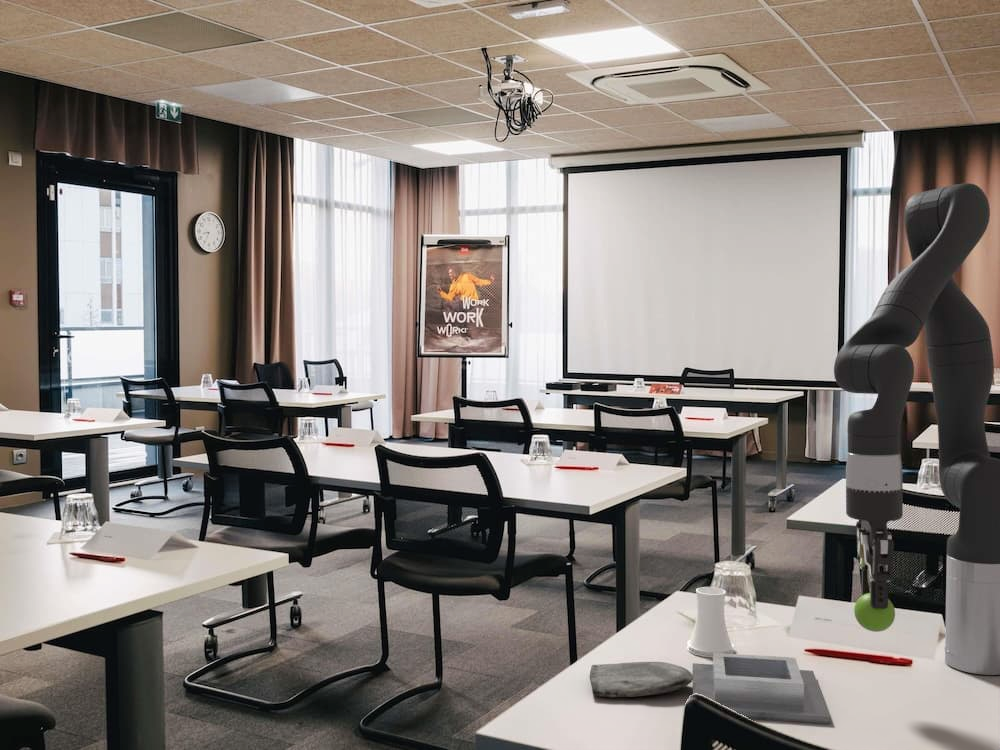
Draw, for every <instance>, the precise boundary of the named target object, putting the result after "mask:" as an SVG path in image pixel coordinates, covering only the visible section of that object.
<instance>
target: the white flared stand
mask: <svg viewBox="0 0 1000 750" xmlns="http://www.w3.org/2000/svg"><path fill="white" fill-rule="evenodd" d="M726 591H727V590H726V589H723V588H720V587H717V586H716V587H714V586H702V587H697V588H695V593H696V605H697V606H696V608H697V609H696V611H697V612H696V617H695V623H694V628H693V631H692V634H691V637H690V639H689V640H687V644H686V645H687V648H686V649H687V651H688V652H689V653H691V654H693V655H696V656H699V657H705V658H713V653H725V654H735V653H734V652H735V650H734V648H735V646H734V644H733V642H731V639H730V635H729V633H728V629H727V624H726V617H725V602H726V601H725V599H726V593H727V592H726Z"/></svg>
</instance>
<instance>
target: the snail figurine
mask: <svg viewBox="0 0 1000 750" xmlns="http://www.w3.org/2000/svg"><path fill="white" fill-rule="evenodd" d="M871 558H873V557H871ZM878 572H880V565H879V566H878ZM869 575H870V574H869V566H868V570H867V577H868V583H869V587H870V579H869ZM853 612H854V617H855V619H856V621H857V623H858V624H859V625H860V626H861V627H862V628H863V629H865V630H867V631H869V632H875V633H876V632H877V633H878V632H879V633H880V632H884V631H886V630H887V629H889V628H890V627H891V626H892V624H893V623H894V621H895V619H896V618H895V617H896V610H895V606H894V604H893V603H892V601H891V600H890V599H889V598H888V607H887V608H886V609H876V608H873V607H872V606H871V604H870V593H867V594H864V595H863V594H862V595H861V596H860V597H859V598H858V599H857V600H856V601H855V604H854V610H853Z"/></svg>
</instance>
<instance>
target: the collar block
mask: <svg viewBox="0 0 1000 750" xmlns="http://www.w3.org/2000/svg"><path fill="white" fill-rule="evenodd" d="M692 675H693V680H692V694H693V693H698V694H702V695H704V696H706V697H708V698H710V699H712V700H714V701H716V702H718V703H720V704H721V705H724V706H726V707H728V708H730V709H732V710H734V711H736V712H737V713H739V714H742V715H744V716H746V717H748V718H747V719H750V718H751V719H753V720H764V721H765V720H766V721H777V722H778V721H780V722H792V723H793V722H794V723H804V724H805V723H806V724H821V725H831V715H830V713H829V710H828V707H827V705H826V702H825V699H824V697H823V695H822V691H821V689H820V686H819V683H818V681H817V678H816V676H815V672H814V670H808V669H807V670H805V669H800V668H799V665H798V662H797V659H796V657H789V656H787V657H786V656H772V655H771V656H770V655H759V654H758V655H756V654H755V655H754V654H739V653H733V654H725V653H713V657H712V664H710V663H697V662H696V663H695V662H692ZM751 719H750V720H751Z"/></svg>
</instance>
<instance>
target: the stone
mask: <svg viewBox="0 0 1000 750" xmlns="http://www.w3.org/2000/svg"><path fill="white" fill-rule="evenodd" d="M589 671H590V672H589V681H590V686H591V691H592V694H593V695H594V696H595V697H599V696H600V697H601V698H603V697H605V698H607V697H608V698H611V699H616V698H619V697H620V698H624V697H626V698H636V697H644V696H651V695H662V694H668V693H671V692H674V691H677V690H680V689H682V688H683V689H684V688H685V687H686V686H688V685H689V684H692V683H693V673H692V672H691V671H690V670H688V669H687V668H685V667H682V666H681V665H677V664H674V663H669V662H664V661H637V662H636V661H633V662H622V663H621V662H620V663H606V664H605V663H604V664H602V663H601V664H592V665H591V667H590V670H589Z"/></svg>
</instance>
